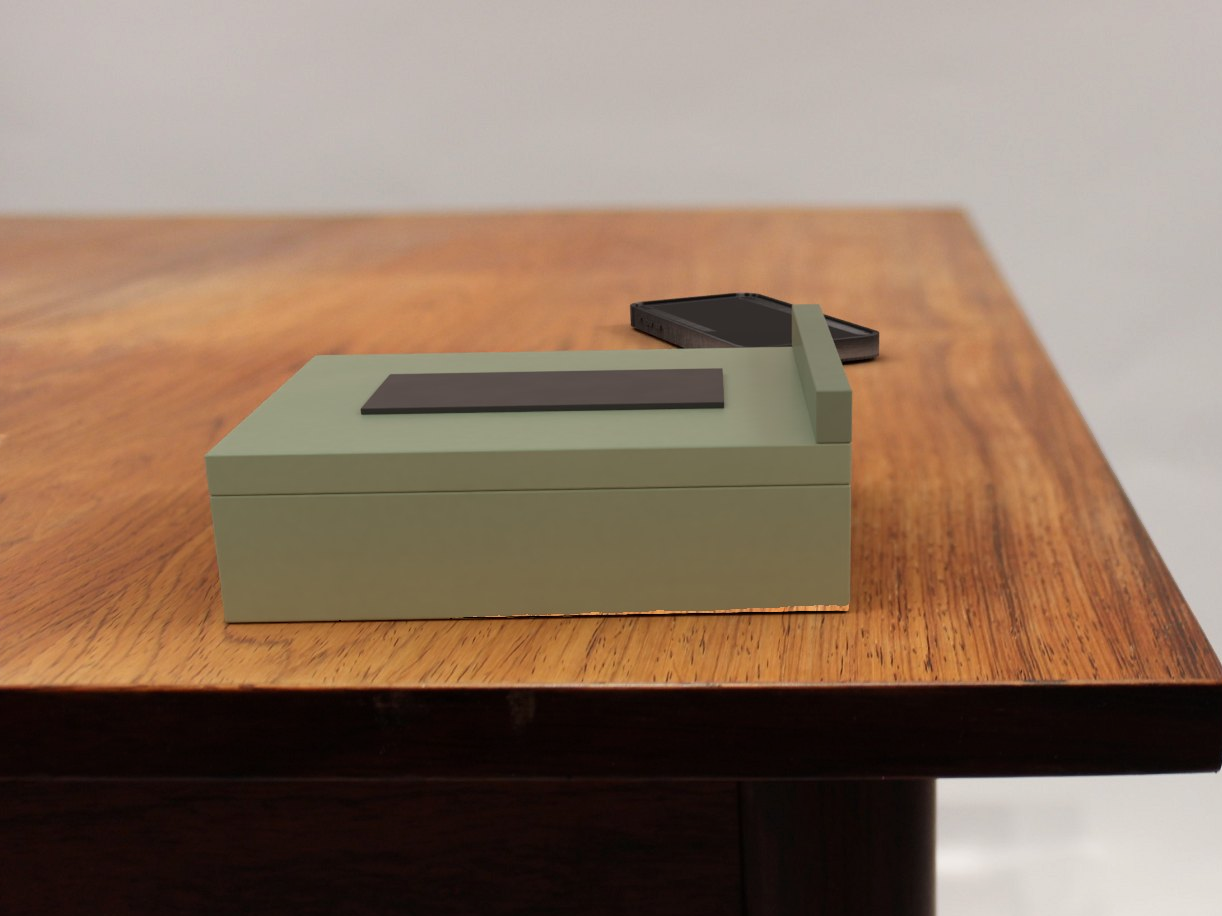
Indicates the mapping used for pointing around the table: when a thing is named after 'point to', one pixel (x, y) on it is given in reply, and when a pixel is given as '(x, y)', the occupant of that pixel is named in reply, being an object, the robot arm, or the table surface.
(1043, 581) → the table surface
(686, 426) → the green box
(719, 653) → the table surface
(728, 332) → the phone
